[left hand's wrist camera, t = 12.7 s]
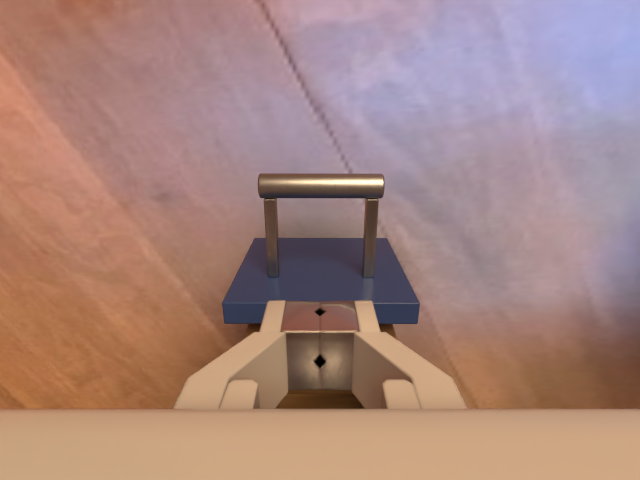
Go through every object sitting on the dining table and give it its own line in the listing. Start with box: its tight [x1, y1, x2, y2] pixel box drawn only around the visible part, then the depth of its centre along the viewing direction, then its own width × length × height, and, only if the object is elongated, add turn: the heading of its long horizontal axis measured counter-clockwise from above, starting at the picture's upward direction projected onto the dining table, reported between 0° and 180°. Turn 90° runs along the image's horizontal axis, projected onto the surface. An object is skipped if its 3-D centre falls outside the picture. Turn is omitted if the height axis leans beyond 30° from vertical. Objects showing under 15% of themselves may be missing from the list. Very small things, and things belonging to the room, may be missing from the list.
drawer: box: [222, 174, 420, 409], centre depth 22 cm, size 20×10×9 cm, turn 0°
